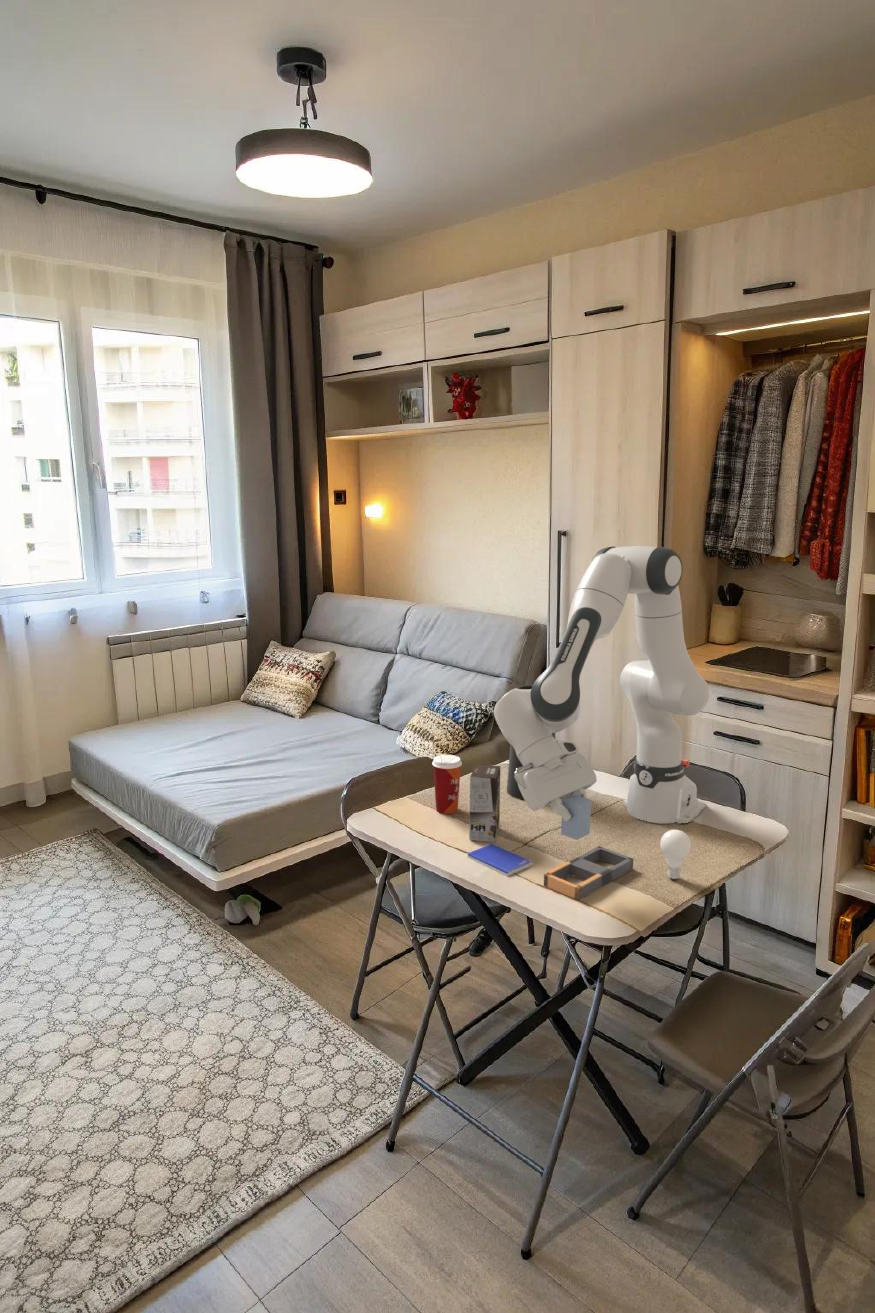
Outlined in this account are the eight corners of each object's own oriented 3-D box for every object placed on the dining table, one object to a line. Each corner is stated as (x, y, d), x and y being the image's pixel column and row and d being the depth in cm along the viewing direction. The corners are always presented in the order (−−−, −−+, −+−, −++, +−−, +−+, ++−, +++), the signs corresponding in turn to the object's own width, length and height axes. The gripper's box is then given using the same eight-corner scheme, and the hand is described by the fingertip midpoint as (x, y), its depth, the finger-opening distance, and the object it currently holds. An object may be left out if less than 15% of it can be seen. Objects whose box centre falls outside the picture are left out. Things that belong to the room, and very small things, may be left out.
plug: (574, 828, 176) (575, 794, 175) (589, 833, 174) (591, 800, 172) (561, 834, 173) (562, 800, 172) (576, 840, 171) (578, 805, 169)
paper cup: (459, 816, 212) (460, 764, 209) (429, 814, 213) (429, 762, 210) (463, 805, 220) (463, 754, 217) (434, 803, 221) (434, 753, 218)
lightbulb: (693, 878, 179) (697, 830, 177) (680, 888, 175) (683, 839, 172) (666, 869, 183) (669, 822, 181) (652, 879, 179) (655, 831, 177)
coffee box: (495, 843, 197) (496, 778, 193) (468, 840, 198) (469, 776, 195) (500, 827, 205) (501, 765, 202) (474, 825, 207) (475, 763, 203)
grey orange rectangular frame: (598, 856, 190) (599, 845, 189) (632, 869, 183) (633, 857, 183) (543, 885, 176) (544, 873, 175) (578, 900, 170) (578, 887, 169)
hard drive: (532, 860, 185) (492, 843, 194) (507, 871, 180) (467, 853, 189) (532, 867, 186) (492, 849, 195) (507, 878, 180) (467, 859, 189)
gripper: (519, 762, 168) (556, 822, 163) (580, 741, 182) (616, 795, 177) (502, 778, 172) (538, 836, 167) (563, 756, 186) (597, 809, 181)
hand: (578, 815), depth 172 cm, fingers closed on plug, 4 cm apart
